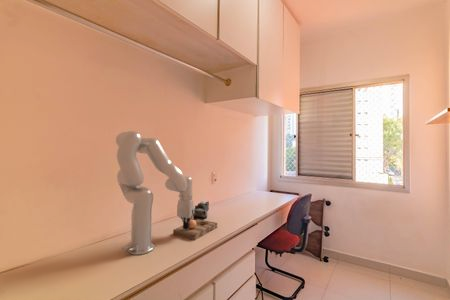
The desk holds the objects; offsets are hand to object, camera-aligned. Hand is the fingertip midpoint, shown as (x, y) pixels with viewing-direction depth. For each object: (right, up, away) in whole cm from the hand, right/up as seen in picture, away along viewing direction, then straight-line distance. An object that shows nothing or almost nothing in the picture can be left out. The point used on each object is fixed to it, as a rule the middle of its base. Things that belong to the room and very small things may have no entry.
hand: (185, 228), depth 133 cm
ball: (+3, +2, +3) cm, 5 cm away
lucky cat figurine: (+4, -4, +35) cm, 36 cm away
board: (+5, -4, +6) cm, 9 cm away
